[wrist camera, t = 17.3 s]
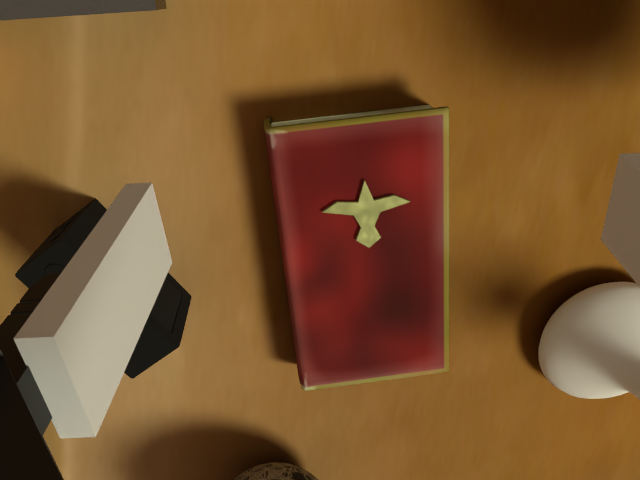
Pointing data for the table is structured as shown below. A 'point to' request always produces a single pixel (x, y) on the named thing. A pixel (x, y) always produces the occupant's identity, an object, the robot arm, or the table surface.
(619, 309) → the flower in vase
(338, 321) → the hardcover book
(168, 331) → the black rectangular block
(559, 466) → the table surface
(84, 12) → the socket block
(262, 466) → the decorative egg
